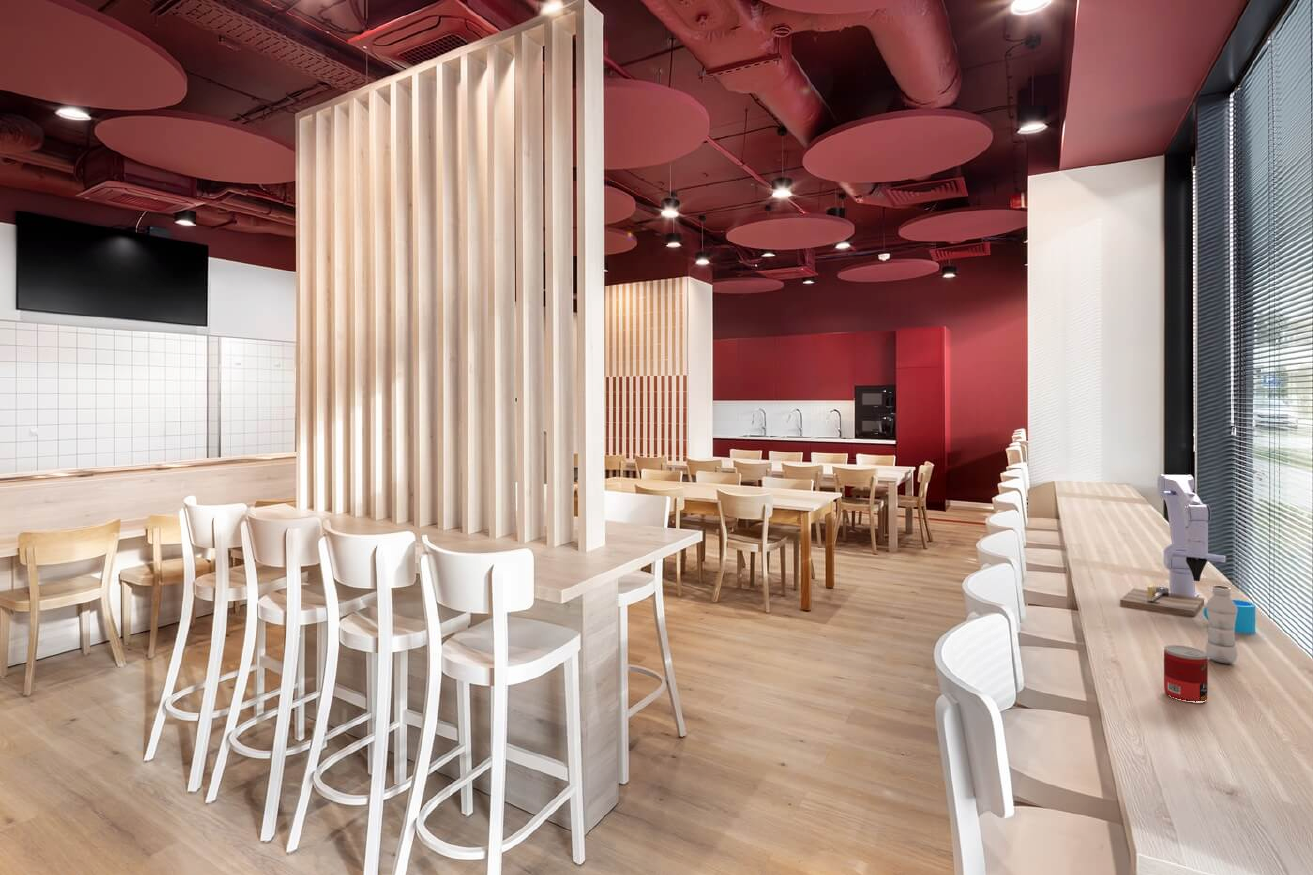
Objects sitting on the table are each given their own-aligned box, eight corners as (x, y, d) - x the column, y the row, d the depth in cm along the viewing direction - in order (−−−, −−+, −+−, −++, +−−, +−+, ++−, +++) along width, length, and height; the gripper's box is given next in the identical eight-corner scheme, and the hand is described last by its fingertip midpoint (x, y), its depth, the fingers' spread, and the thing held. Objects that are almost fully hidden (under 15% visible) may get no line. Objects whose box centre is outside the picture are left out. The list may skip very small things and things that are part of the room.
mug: (1254, 628, 200) (1254, 601, 200) (1256, 635, 194) (1256, 608, 193) (1203, 621, 208) (1203, 595, 207) (1203, 628, 201) (1203, 601, 201)
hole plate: (1133, 593, 240) (1133, 587, 240) (1204, 604, 225) (1204, 597, 225) (1120, 605, 226) (1120, 599, 226) (1194, 617, 212) (1194, 610, 212)
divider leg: (1157, 592, 233) (1157, 578, 233) (1170, 594, 231) (1170, 580, 230) (1142, 600, 224) (1142, 586, 224) (1155, 602, 221) (1155, 588, 221)
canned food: (1210, 706, 149) (1210, 659, 148) (1166, 699, 153) (1166, 653, 153) (1204, 694, 155) (1204, 648, 155) (1162, 687, 159) (1162, 643, 159)
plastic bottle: (1229, 658, 177) (1229, 584, 176) (1242, 667, 170) (1243, 591, 170) (1200, 656, 179) (1200, 583, 178) (1212, 665, 172) (1212, 589, 172)
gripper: (1167, 539, 223) (1167, 579, 223) (1223, 544, 212) (1223, 586, 213) (1171, 536, 228) (1171, 575, 228) (1226, 541, 217) (1226, 582, 217)
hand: (1196, 580), depth 221 cm, fingers closed
